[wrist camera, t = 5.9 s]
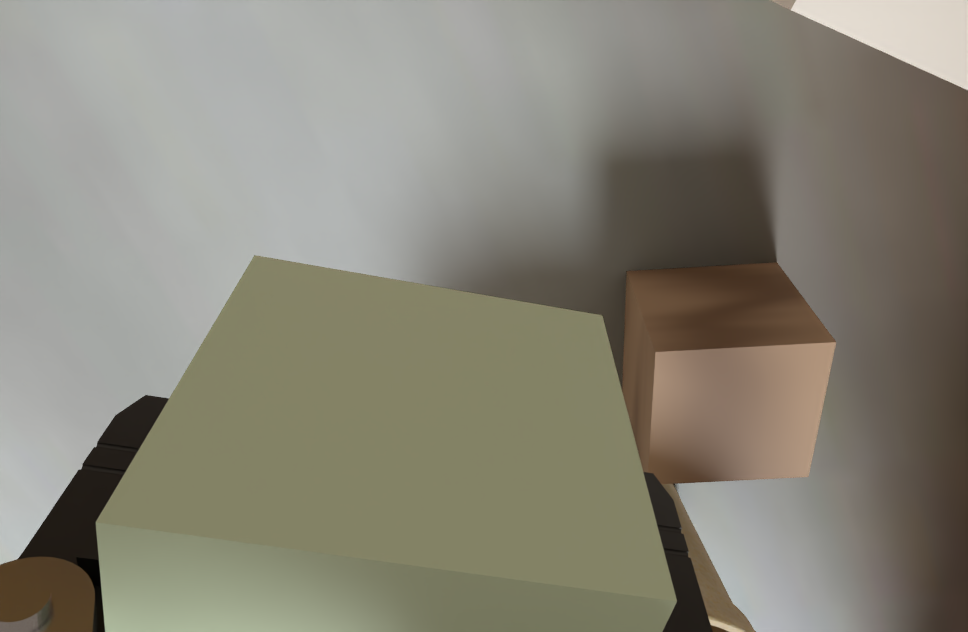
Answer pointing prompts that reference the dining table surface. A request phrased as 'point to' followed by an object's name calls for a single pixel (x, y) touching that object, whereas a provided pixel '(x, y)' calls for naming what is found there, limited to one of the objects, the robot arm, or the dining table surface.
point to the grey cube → (901, 30)
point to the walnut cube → (723, 373)
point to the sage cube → (386, 471)
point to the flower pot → (709, 577)
